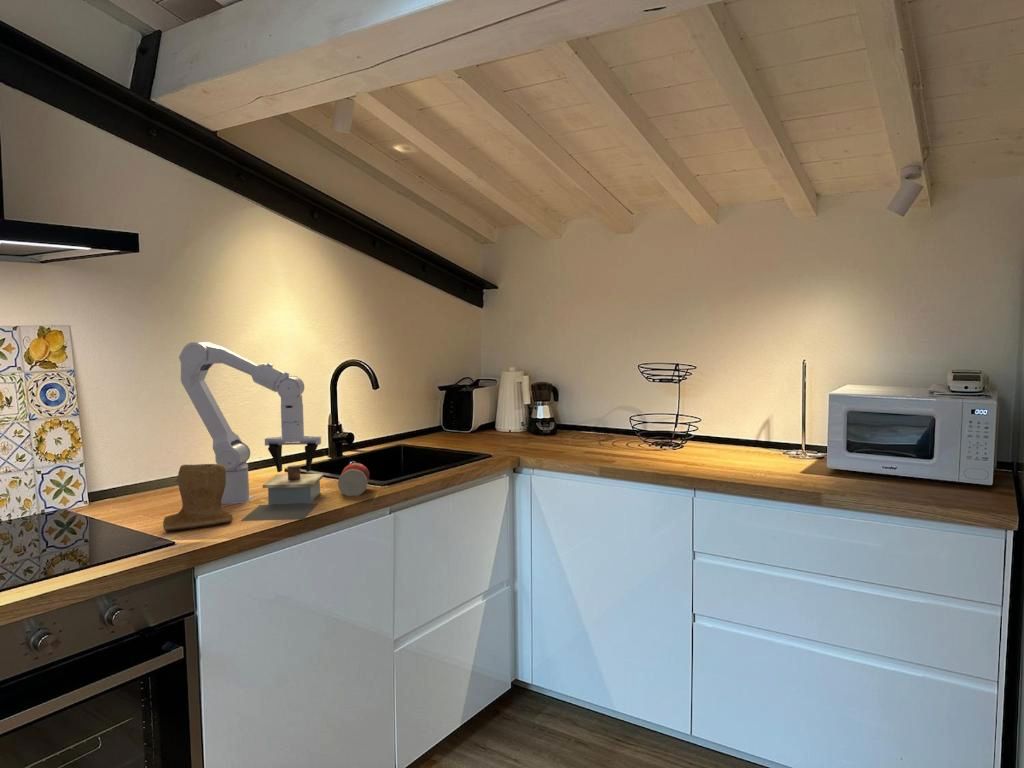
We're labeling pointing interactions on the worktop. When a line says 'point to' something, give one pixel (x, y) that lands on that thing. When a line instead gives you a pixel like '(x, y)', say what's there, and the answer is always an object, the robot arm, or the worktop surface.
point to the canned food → (353, 479)
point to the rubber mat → (280, 512)
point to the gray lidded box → (293, 494)
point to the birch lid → (293, 479)
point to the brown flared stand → (199, 497)
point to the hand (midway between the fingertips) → (294, 471)
